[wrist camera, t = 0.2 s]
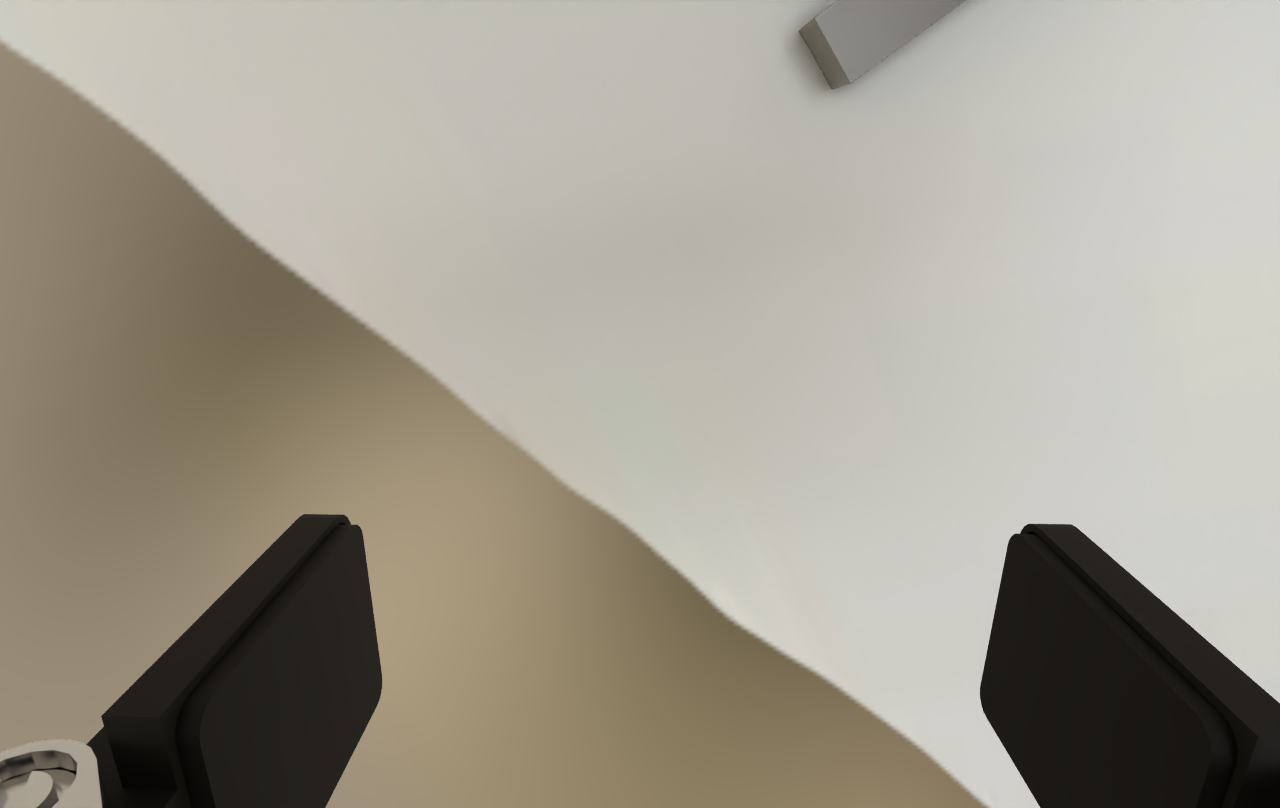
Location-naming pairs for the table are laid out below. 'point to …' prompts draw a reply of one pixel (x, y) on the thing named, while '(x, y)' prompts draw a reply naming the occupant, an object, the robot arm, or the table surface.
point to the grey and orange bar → (867, 33)
